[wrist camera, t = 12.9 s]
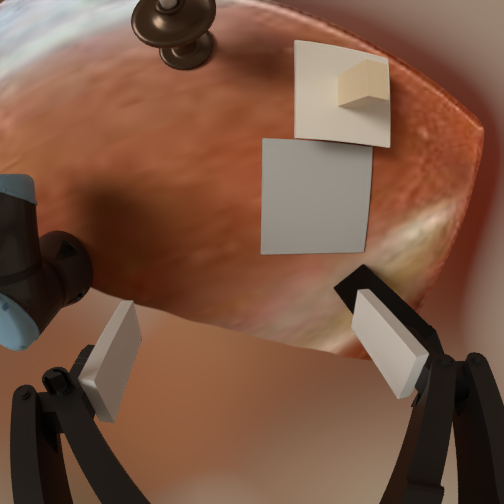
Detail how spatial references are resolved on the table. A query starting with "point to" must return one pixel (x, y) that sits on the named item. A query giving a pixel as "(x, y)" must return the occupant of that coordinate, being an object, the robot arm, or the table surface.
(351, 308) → the black block
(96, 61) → the table surface
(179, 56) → the candlestick
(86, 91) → the table surface
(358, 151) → the mat
